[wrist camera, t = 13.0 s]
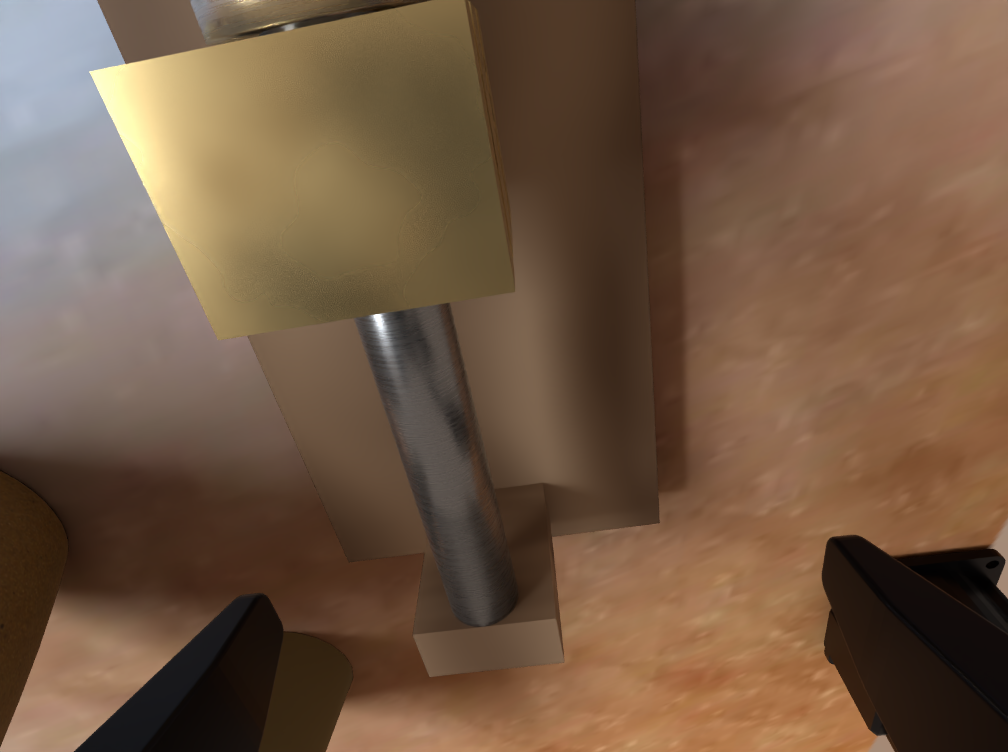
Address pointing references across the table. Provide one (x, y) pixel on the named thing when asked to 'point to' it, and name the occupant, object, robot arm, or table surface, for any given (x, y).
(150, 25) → the jig
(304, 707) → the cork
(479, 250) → the nut
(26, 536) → the plant pot
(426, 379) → the bolt
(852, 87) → the table surface
